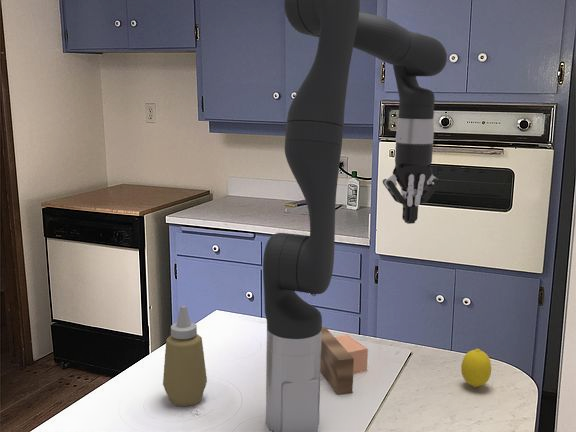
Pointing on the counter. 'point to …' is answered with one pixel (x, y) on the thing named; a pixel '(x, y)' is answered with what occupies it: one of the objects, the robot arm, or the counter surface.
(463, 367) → the lemon
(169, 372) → the squeeze bottle
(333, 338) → the walnut plank
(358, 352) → the terracotta block
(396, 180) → the robot arm
